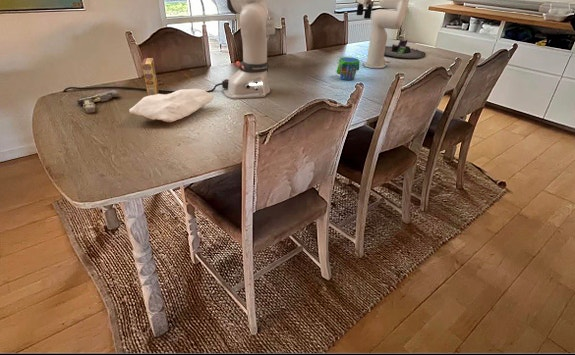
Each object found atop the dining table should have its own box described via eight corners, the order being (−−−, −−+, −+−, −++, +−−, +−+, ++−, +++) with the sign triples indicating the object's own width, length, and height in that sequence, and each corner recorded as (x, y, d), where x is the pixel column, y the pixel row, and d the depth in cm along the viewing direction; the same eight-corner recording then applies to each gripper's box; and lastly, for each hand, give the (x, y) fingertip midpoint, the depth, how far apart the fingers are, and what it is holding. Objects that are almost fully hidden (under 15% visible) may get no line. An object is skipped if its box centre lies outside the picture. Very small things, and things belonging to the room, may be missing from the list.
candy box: (157, 97, 164) (152, 63, 155) (147, 98, 163) (141, 63, 155) (158, 91, 171) (153, 57, 163) (149, 91, 170) (143, 58, 162)
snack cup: (351, 73, 205) (353, 55, 200) (364, 79, 198) (367, 60, 193) (329, 77, 198) (331, 58, 192) (342, 83, 191) (344, 63, 185)
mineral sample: (436, 54, 249) (439, 40, 244) (402, 60, 231) (404, 45, 227) (396, 47, 273) (398, 34, 269) (363, 52, 256) (364, 38, 252)
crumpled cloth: (117, 110, 146) (113, 90, 140) (195, 92, 166) (194, 73, 160) (143, 139, 134) (140, 118, 128) (223, 116, 154) (224, 96, 148)
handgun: (128, 97, 156) (111, 87, 164) (86, 107, 144) (70, 97, 152) (129, 103, 157) (113, 94, 165) (88, 114, 146) (72, 103, 154)
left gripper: (271, 15, 205) (271, 41, 213) (238, 18, 196) (240, 45, 203) (277, 17, 201) (277, 43, 208) (244, 20, 191) (245, 47, 199)
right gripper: (354, -25, 177) (349, 13, 186) (368, -22, 163) (362, 19, 172) (368, -24, 178) (363, 13, 188) (383, -21, 164) (377, 19, 174)
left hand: (258, 44), depth 206 cm, fingers open, 8 cm apart
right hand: (363, 16), depth 180 cm, fingers open, 9 cm apart
